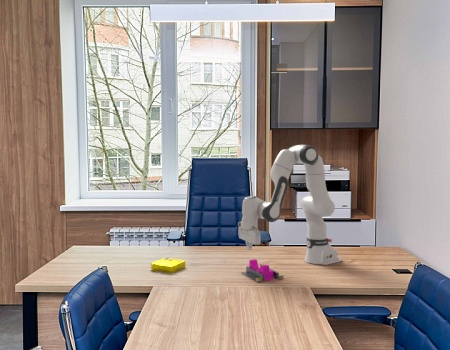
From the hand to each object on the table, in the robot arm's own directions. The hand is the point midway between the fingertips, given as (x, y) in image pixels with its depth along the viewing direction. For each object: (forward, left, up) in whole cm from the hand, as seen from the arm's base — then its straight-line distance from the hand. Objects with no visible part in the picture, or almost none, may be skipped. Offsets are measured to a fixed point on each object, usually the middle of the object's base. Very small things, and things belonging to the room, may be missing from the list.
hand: (249, 249), depth 263 cm
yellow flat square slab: (+41, -21, -12) cm, 47 cm away
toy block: (0, +14, -12) cm, 18 cm away
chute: (-1, +14, -11) cm, 18 cm away
